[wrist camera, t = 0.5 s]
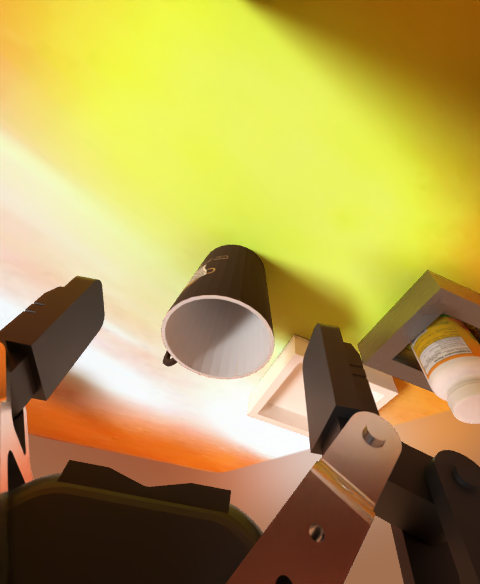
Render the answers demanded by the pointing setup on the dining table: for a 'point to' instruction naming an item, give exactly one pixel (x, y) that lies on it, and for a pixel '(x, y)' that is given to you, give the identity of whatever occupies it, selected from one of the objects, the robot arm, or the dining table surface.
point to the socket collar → (417, 325)
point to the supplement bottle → (451, 365)
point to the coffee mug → (222, 317)
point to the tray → (300, 390)
